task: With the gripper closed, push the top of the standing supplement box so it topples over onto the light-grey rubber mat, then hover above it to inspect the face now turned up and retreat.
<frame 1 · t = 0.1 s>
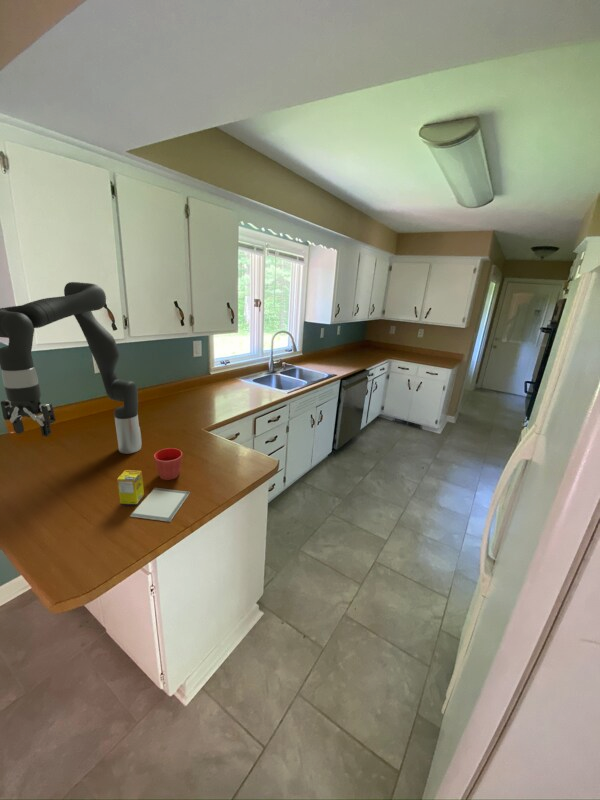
hand: (33, 434, 96), 29 cm above the counter, fingers open, 8 cm apart
flower pot: (169, 475, 131), on the counter
supplement box: (132, 500, 115), on the counter
mat: (162, 504, 114), on the counter
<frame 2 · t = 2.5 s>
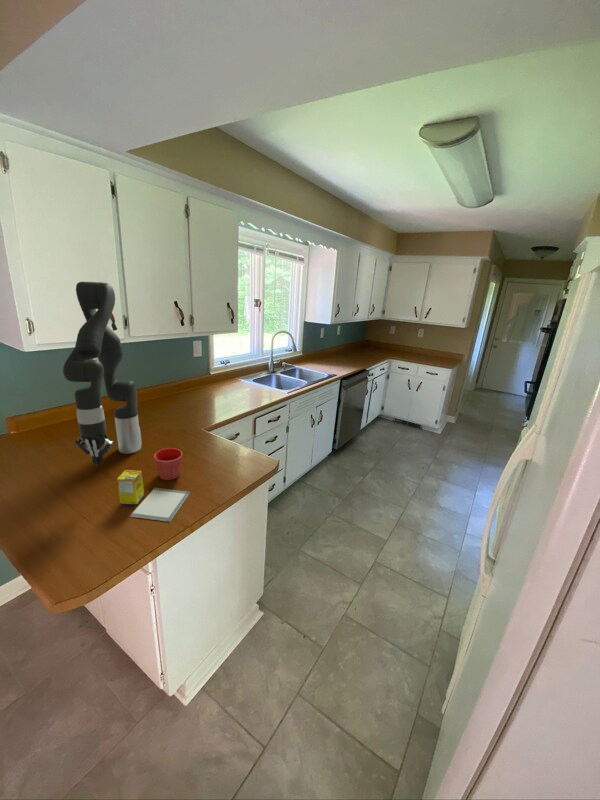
hand: (98, 464, 110), 14 cm above the counter, fingers closed
nothing on the counter moved.
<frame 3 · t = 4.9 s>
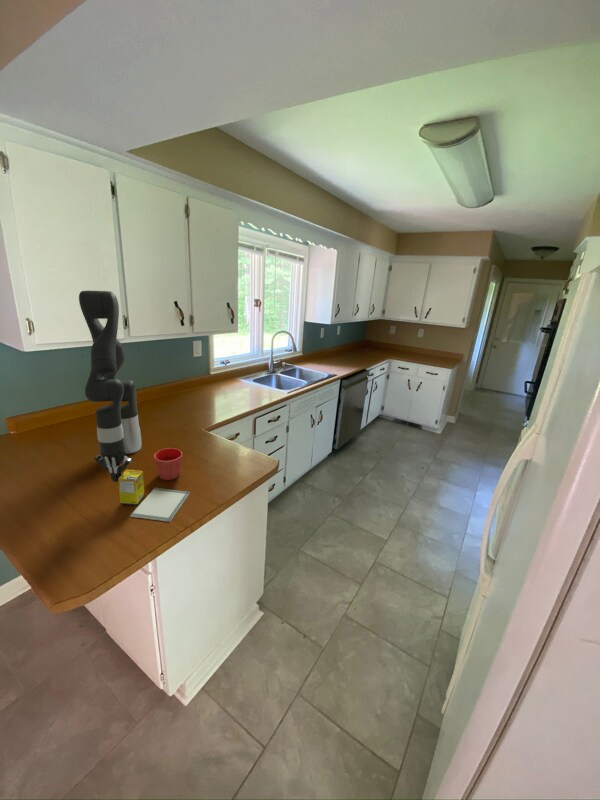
hand: (116, 480, 112), 8 cm above the counter, fingers closed
supplement box: (132, 500, 115), on the counter, touching gripper
everything else where it was.
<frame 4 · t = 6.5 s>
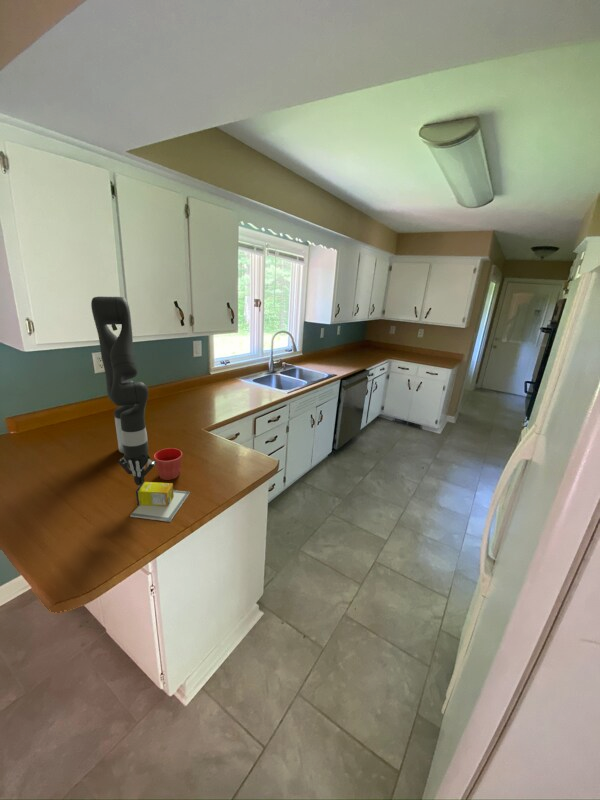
hand: (139, 483, 112), 8 cm above the counter, fingers closed
supplement box: (139, 492, 113), point 3 cm above the counter, touching mat
everything else where it was.
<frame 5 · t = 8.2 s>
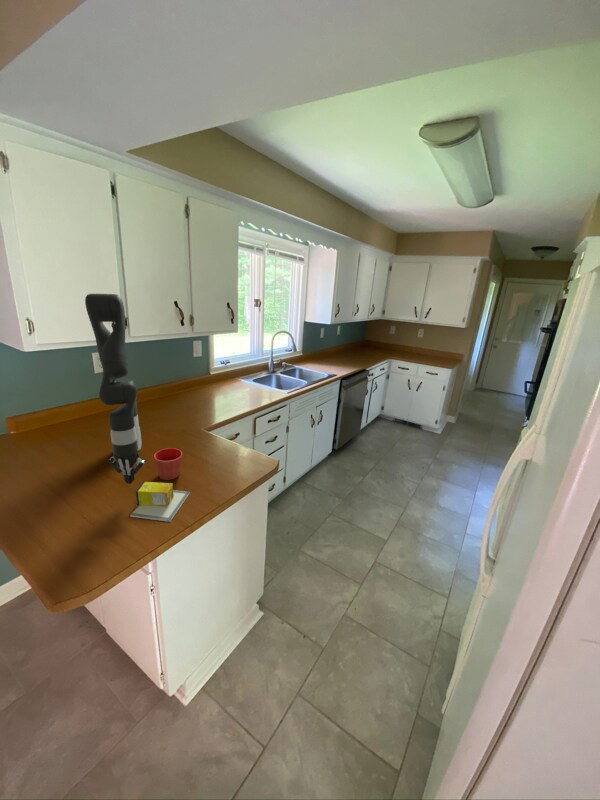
hand: (129, 482, 113), 7 cm above the counter, fingers closed
nothing on the counter moved.
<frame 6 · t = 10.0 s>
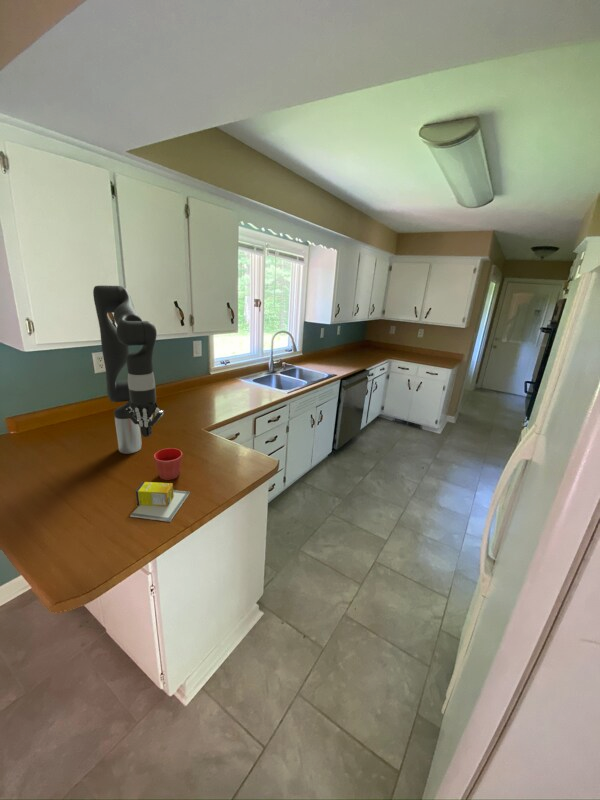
hand: (146, 435, 105), 27 cm above the counter, fingers closed
nothing on the counter moved.
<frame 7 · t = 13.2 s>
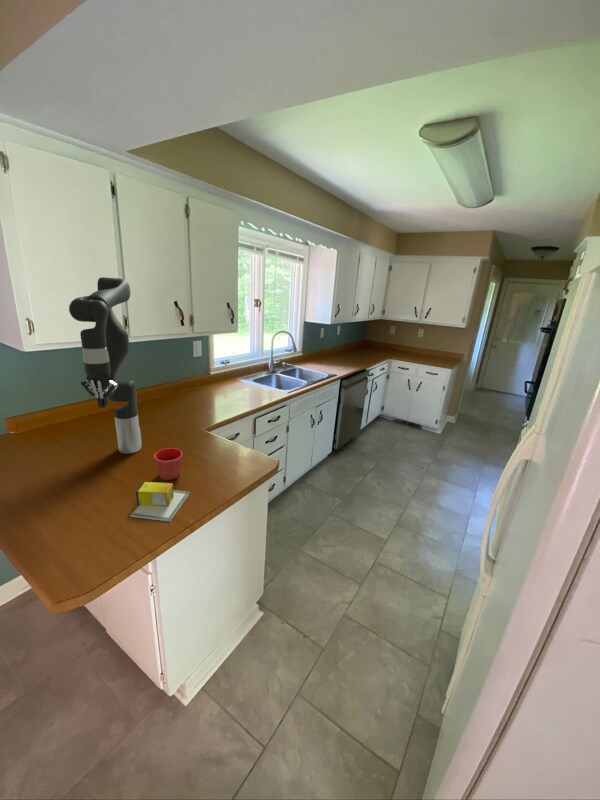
hand: (103, 407, 114), 31 cm above the counter, fingers closed
nothing on the counter moved.
at the end: supplement box tilted 90°; supplement box inside the target area (1.8 cm from its centre), point 3.4 cm above the counter; supplement box touching mat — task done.
